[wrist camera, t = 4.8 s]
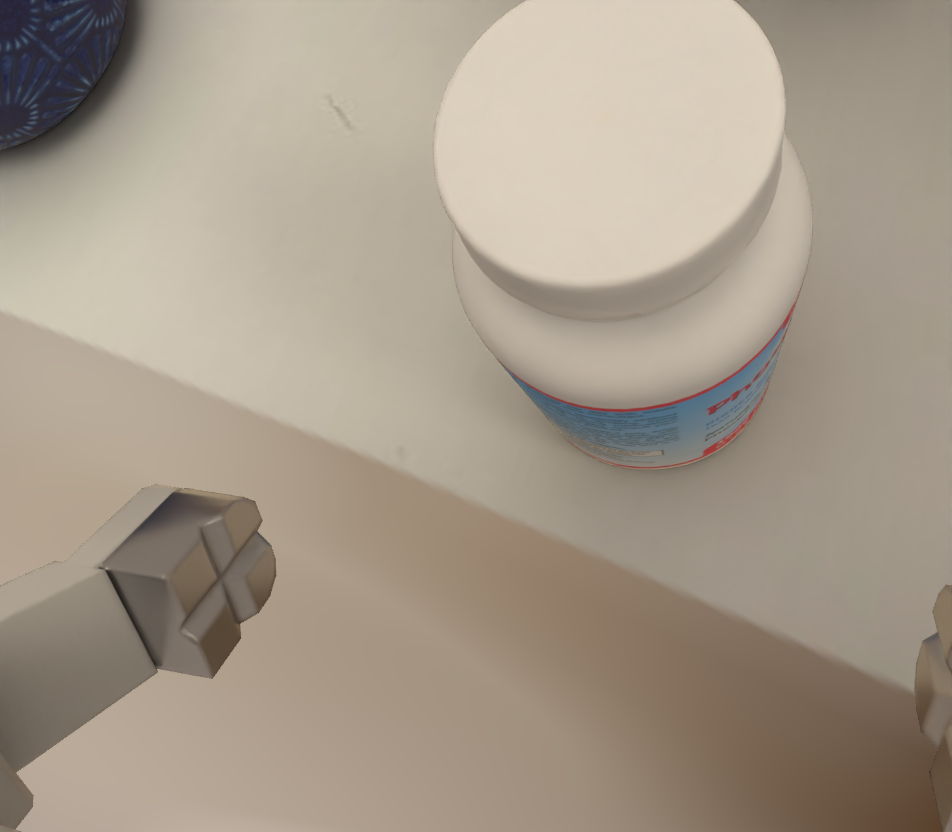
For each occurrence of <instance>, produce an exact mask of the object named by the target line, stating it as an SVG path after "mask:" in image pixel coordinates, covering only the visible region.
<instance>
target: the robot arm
mask: <svg viewBox="0 0 952 832" xmlns="http://www.w3.org/2000/svg"><path fill="white" fill-rule="evenodd" d="M261 523H262V518H261V515H260V513H259V510H258V508H257V505H256V503H255V501H253V500H250V499H248V498H245V497H241V496H234V495H227V494H221V493H215V492H207V491H202V490H195V489H189V488H184V489H183V488H176V487H171V486H164V485H157V484H155V485H151V486H148V487H145V488H142V489H141V490H140V491H139V492H138V493H137V494H136V495H135V496H134V497H133V498H132V499H131V500H130V501H128V502H127V503H126V504H125V505H124V506H123V507H122V508H121V509H120V510H119V511H118V512H117V513H116V514H115V515H114V516H113V517H111V519H109V520H108V521H107V522H106V523H105V524H104V525H103V526H102V527H101V528H100V529H99V530H98V531H97V532H95V534H93V535H92V536H91V537H90V538H89V539H88V540H87V541H86V542H85V543H84V544H83V545H82V546H81V547H80V548H79V549H78V550H76V551H75V552H74V553H73V554H72V555H71V556H70V557H69V558H68V559H67V560H66V561H65V562H56V561H54V562H52V563H49V564H47V565H45V566H43V567H40V568H38V569H36V570H34V571H31V572H29V573H27V574H25V575H23V576H20V577H19V578H16V579H14V580H12V581H9V582H7V583H5V584H3V585H0V832H20V831H17V830H15V829H16V828H17V826H18V825H19V824H20V823H21V821H22V820H23V819H24V817H25V816H26V815H27V813H28V812H29V811H30V810H31V808H32V807H33V795H32V793H31V792H30V791H29V789H28V788H27V787H26V785H25V784H24V783H23V781H22V780H21V779H20V778H19V776H18V775H17V774H16V772H17V771H19V770H20V769H22V768H23V767H25V766H26V765H27V764H29V763H30V762H32V761H33V760H35V759H36V758H37V757H39V756H40V755H42V754H43V753H44V752H46V751H47V750H49V749H50V748H51V747H53V746H54V745H56V744H57V743H58V742H60V741H61V740H63V739H64V738H66V737H67V736H68V735H70V734H71V733H73V732H74V731H75V730H77V729H78V728H80V727H81V726H83V725H84V724H85V723H87V722H88V721H90V720H91V719H92V718H94V717H95V716H97V715H98V714H99V713H101V712H102V711H104V710H105V709H106V708H108V707H109V706H111V705H112V704H114V703H115V702H116V701H118V700H119V699H121V698H122V697H123V696H125V695H126V694H128V693H129V692H131V691H132V690H133V689H135V688H136V687H138V686H139V685H141V684H142V683H143V682H145V681H146V680H148V679H149V678H150V677H152V676H153V675H155V674H156V673H157V672H158V671H157V669H162V670H167V671H173V672H178V673H184V674H189V675H195V676H200V677H206V678H211V679H212V678H213V677H214V676H215V674H216V673H217V672H218V670H219V669H220V667H221V666H222V665H223V663H224V662H225V660H226V659H227V657H228V656H229V655H230V653H231V652H232V650H233V649H234V647H235V646H236V644H237V643H238V642H239V640H240V639H241V632H240V623H241V622H244V621H245V620H247V619H249V618H251V617H252V616H254V615H256V614H257V613H259V612H260V610H261V609H262V607H263V606H264V604H265V603H266V601H267V600H268V598H269V597H270V594H271V591H272V587H273V584H274V580H275V577H276V559H275V556H274V554H273V553H274V552H273V550H272V546H271V545H270V544H269V543H268V542H267V541H266V540H265V539H264V538H263V537H262V536H261V535H260V534H259V533H258V532H257V530H258V529H259V527H260V525H261ZM933 615H934V619H935V623H936V627H937V631H938V632H937V633H936V634H934V635H932V636H930V637H929V638H927V639H925V640H923V642H922V645H921V649H920V652H919V656H918V660H917V663H916V676H915V699H916V710H917V715H918V720H919V725H920V730H921V732H922V733H923V734H924V735H925V737H927V739H928V740H929V741H930V742H931V743H932V744H933V745H934V746H935V747H936V748H937V749H938V750H937V753H936V755H935V758H934V761H933V764H932V766H931V769H930V771H929V773H930V777H931V782H932V786H933V791H934V795H935V800H936V805H937V809H938V813H939V818H940V823H941V827H942V832H952V585H945V587H944V588H943V589H942V590H941V591H940V593H939V594H938V597H937V600H936V603H935V606H934V609H933Z"/></svg>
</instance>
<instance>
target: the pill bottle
mask: <svg viewBox="0 0 952 832" xmlns="http://www.w3.org/2000/svg"><path fill="white" fill-rule="evenodd" d="M785 121H786V97H785V89H784V82H783V76H782V73H781V69H780V66H779V63H778V60H777V58H776V56H775V53H774V51H773V48H772V46H771V44H770V43H769V41H768V39H767V38H766V36H765V35H764V33H763V31H762V30H761V28H760V26H759V25H758V23H757V22H756V21H755V20H754V19H753V18H752V17H751V16H750V15H749V14H748V13H747V12H746V11H745V10H744V9H743V8H742V7H741V6H740V5H739V4H738V3H736V2H735V1H734V0H526V1H524V2H523V3H521V4H519V5H518V6H516V7H515V8H513V9H512V10H510V11H509V12H507V13H506V14H505V15H503V16H502V17H501V18H500V19H498V20H497V21H496V22H495V23H494V24H493V25H492V26H491V27H490V28H489V29H488V30H487V31H486V32H485V33H484V34H483V35H482V36H481V37H480V38H479V39H478V40H477V41H476V43H475V44H474V45H473V46H472V47H471V49H470V50H469V51H468V53H467V54H466V55H465V57H464V58H463V59H462V61H461V62H460V64H459V65H458V67H457V69H456V70H455V72H454V74H453V76H452V78H451V80H450V82H449V84H448V86H447V88H446V90H445V93H444V96H443V99H442V102H441V104H440V107H439V110H438V113H437V117H436V122H435V134H434V141H433V160H434V172H435V177H436V182H437V187H438V191H439V194H440V198H441V201H442V203H443V205H444V208H445V210H446V212H447V214H448V216H449V218H450V220H451V221H452V223H453V237H452V259H453V270H454V276H455V281H456V287H457V290H458V293H459V296H460V299H461V302H462V305H463V307H464V310H465V312H466V314H467V316H468V318H469V320H470V322H471V324H472V325H473V327H474V329H475V330H476V332H477V333H478V335H479V336H480V338H481V339H482V341H483V342H484V344H485V345H486V347H487V348H488V349H489V350H490V351H491V353H492V354H493V355H494V356H495V357H496V358H497V360H498V361H499V362H500V363H501V365H502V366H503V367H504V368H505V369H506V370H507V372H508V373H509V374H510V375H511V376H512V377H513V379H514V380H515V381H516V382H517V383H518V384H519V386H520V387H521V388H522V389H523V390H524V391H525V393H526V394H527V395H528V396H529V397H530V398H531V400H532V401H533V402H534V403H535V404H536V406H537V407H538V408H539V409H540V410H541V411H542V413H543V414H544V415H545V416H546V417H547V418H548V420H549V421H550V422H551V423H552V424H553V425H554V426H555V428H556V429H557V430H558V431H559V432H560V433H561V434H562V435H563V436H564V437H565V438H566V439H567V440H568V441H569V442H570V443H572V444H573V445H574V446H575V447H576V448H578V449H579V450H581V451H582V452H584V453H585V454H587V455H589V456H591V457H592V458H594V459H597V460H599V461H601V462H604V463H606V464H610V465H613V466H617V467H622V468H628V469H635V470H657V469H668V468H674V467H679V466H684V465H688V464H691V463H694V462H697V461H699V460H702V459H704V458H706V457H708V456H710V455H712V454H714V453H716V452H717V451H719V450H721V449H722V448H723V447H725V446H726V445H727V444H729V443H730V442H731V441H732V440H733V439H734V438H735V437H737V436H738V435H739V434H740V433H741V432H742V430H743V429H744V428H745V427H746V426H747V425H748V423H749V422H750V420H751V419H752V418H753V416H754V415H755V413H756V411H757V409H758V408H759V406H760V404H761V402H762V400H763V397H764V395H765V393H766V390H767V387H768V384H769V381H770V378H771V375H772V372H773V369H774V367H775V364H776V361H777V358H778V355H779V352H780V349H781V346H782V343H783V340H784V337H785V334H786V331H787V328H788V326H789V323H790V321H791V317H792V313H793V310H794V307H795V305H796V302H797V299H798V296H799V293H800V290H801V287H802V283H803V280H804V277H805V273H806V270H807V265H808V260H809V256H810V251H811V244H812V231H813V217H812V204H811V198H810V191H809V186H808V183H807V179H806V175H805V172H804V169H803V167H802V164H801V162H800V159H799V157H798V155H797V153H796V151H795V149H794V148H793V146H792V144H791V142H790V141H789V139H788V138H787V136H786V135H785V133H784V129H785Z"/></svg>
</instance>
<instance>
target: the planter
mask: <svg viewBox="0 0 952 832" xmlns="http://www.w3.org/2000/svg"><path fill="white" fill-rule="evenodd" d="M126 4H127V0H0V150H1V149H6V148H9V147H12V146H15V145H18V144H21V143H24V142H26V141H28V140H31V139H33V138H35V137H37V136H39V135H41V134H42V133H44V132H46V131H48V130H49V129H51V128H52V127H53V126H55V125H56V124H58V123H59V122H60V121H62V120H63V119H64V118H65V117H67V116H68V115H69V114H70V113H71V112H72V111H73V110H74V109H75V108H76V107H77V106H78V105H79V104H80V103H81V102H82V101H83V100H84V99H85V98H86V96H87V95H88V94H89V93H90V91H91V90H92V89H93V88H94V86H95V85H96V84H97V82H98V81H99V79H100V78H101V76H102V75H103V73H104V71H105V69H106V68H107V66H108V64H109V62H110V60H111V58H112V56H113V54H114V52H115V49H116V47H117V44H118V42H119V39H120V36H121V32H122V29H123V24H124V19H125V13H126Z"/></svg>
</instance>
